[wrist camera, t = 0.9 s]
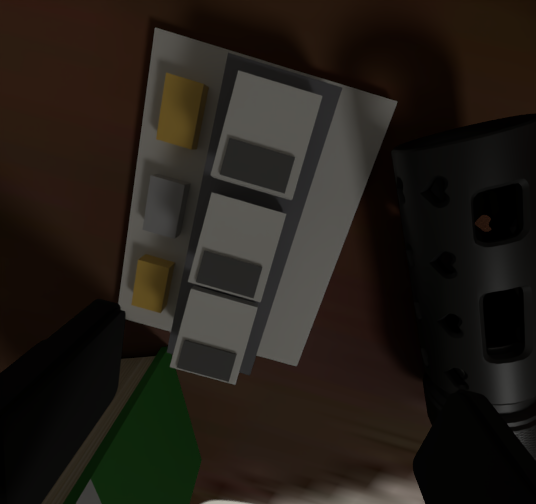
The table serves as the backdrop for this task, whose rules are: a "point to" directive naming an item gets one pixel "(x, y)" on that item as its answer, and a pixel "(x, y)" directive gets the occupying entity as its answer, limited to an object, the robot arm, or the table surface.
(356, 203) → the panel
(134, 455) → the hardback book
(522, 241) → the muzzle brake
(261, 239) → the switch middle
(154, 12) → the table surface
